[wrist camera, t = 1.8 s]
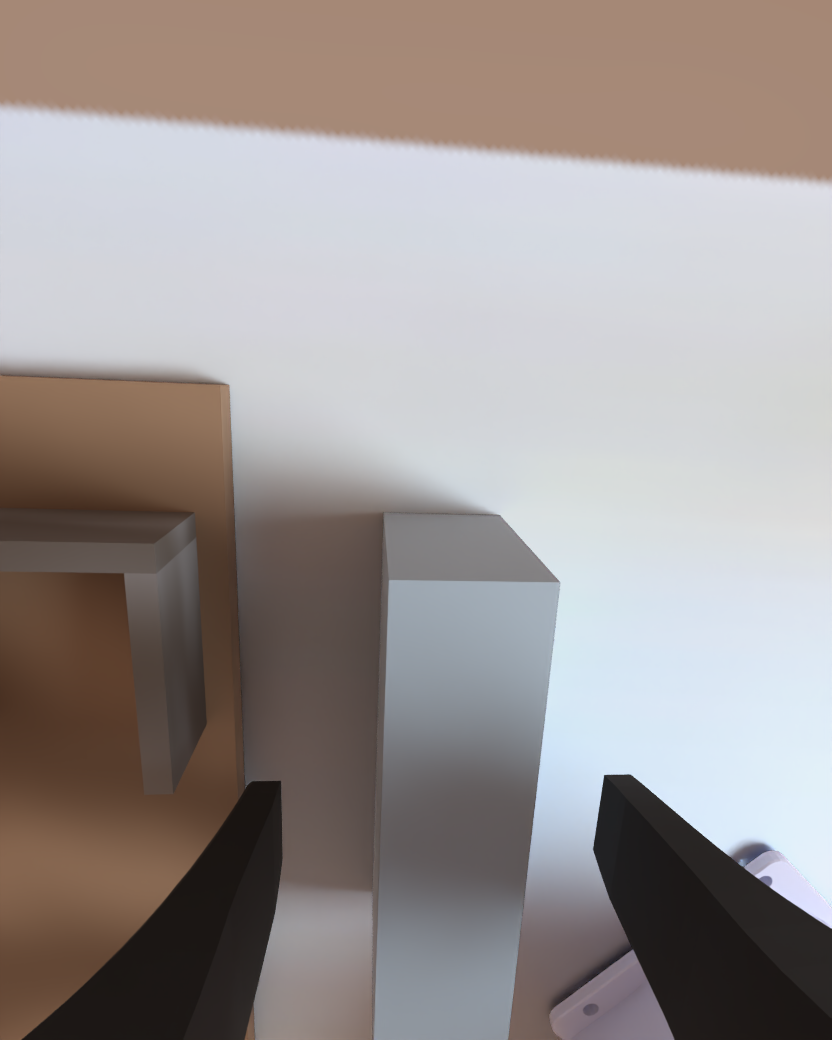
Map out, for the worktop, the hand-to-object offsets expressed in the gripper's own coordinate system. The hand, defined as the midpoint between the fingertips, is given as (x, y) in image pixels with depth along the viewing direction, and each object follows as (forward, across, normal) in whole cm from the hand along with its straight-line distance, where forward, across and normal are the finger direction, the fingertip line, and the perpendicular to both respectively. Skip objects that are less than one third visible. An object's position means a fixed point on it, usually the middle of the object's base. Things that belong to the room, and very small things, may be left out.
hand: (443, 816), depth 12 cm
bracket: (+4, +9, +2) cm, 10 cm away
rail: (+4, 0, 0) cm, 4 cm away
